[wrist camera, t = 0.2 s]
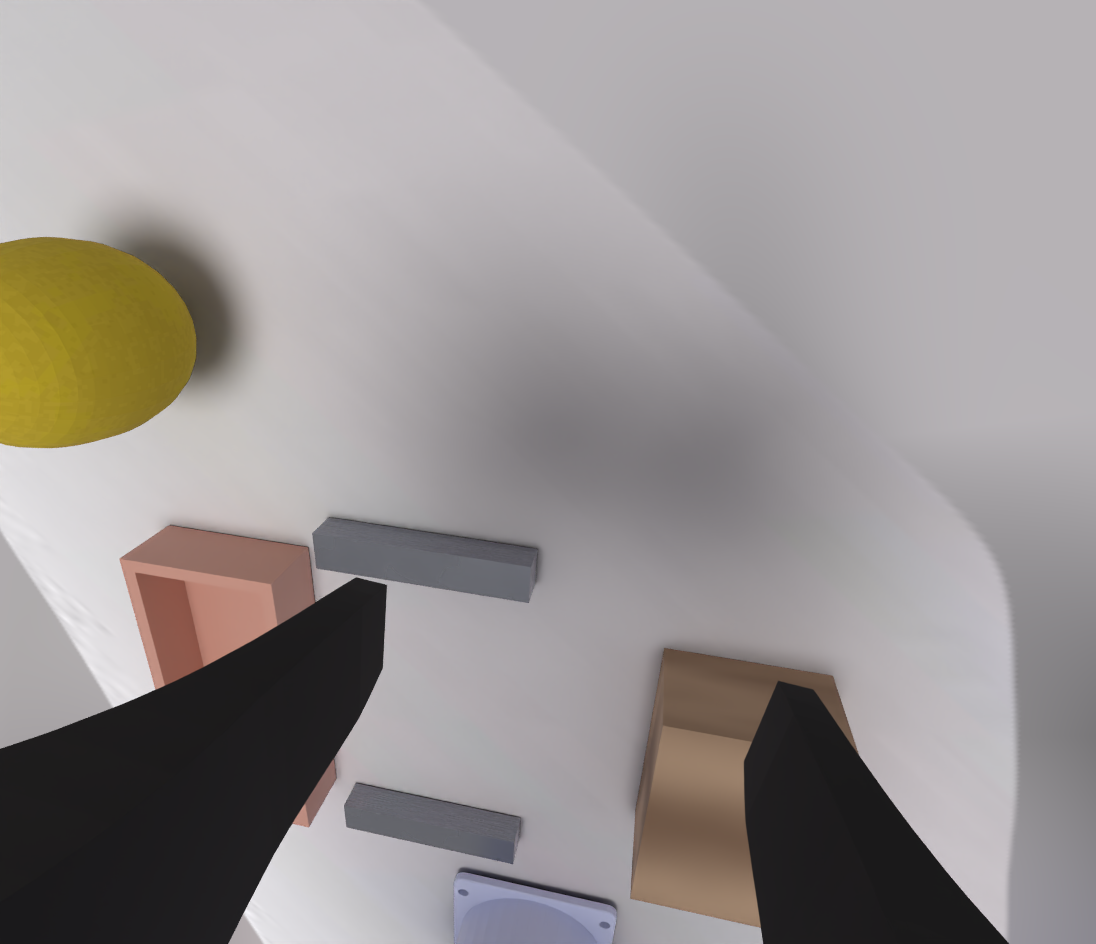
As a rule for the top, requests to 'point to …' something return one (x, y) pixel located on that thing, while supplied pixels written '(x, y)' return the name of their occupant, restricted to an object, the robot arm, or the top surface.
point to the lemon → (86, 342)
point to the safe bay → (444, 568)
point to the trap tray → (215, 604)
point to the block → (706, 782)
